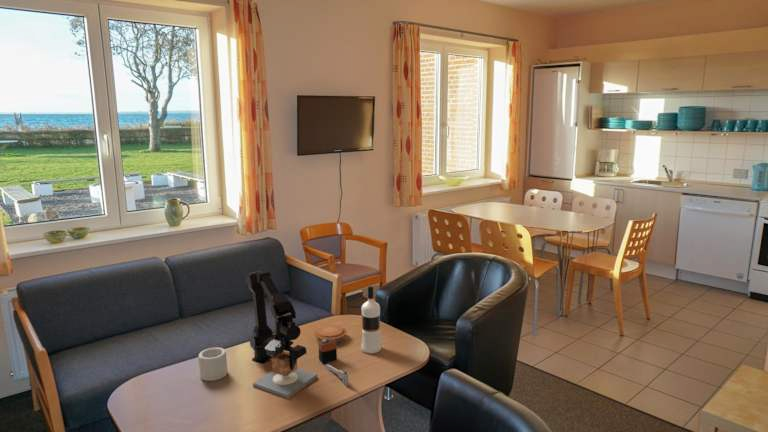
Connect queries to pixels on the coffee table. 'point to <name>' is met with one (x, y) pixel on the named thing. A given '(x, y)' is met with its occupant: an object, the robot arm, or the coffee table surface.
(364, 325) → the vodka
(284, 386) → the post board
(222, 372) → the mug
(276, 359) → the collar
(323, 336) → the pie
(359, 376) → the coffee table surface
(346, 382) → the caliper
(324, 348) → the battery
